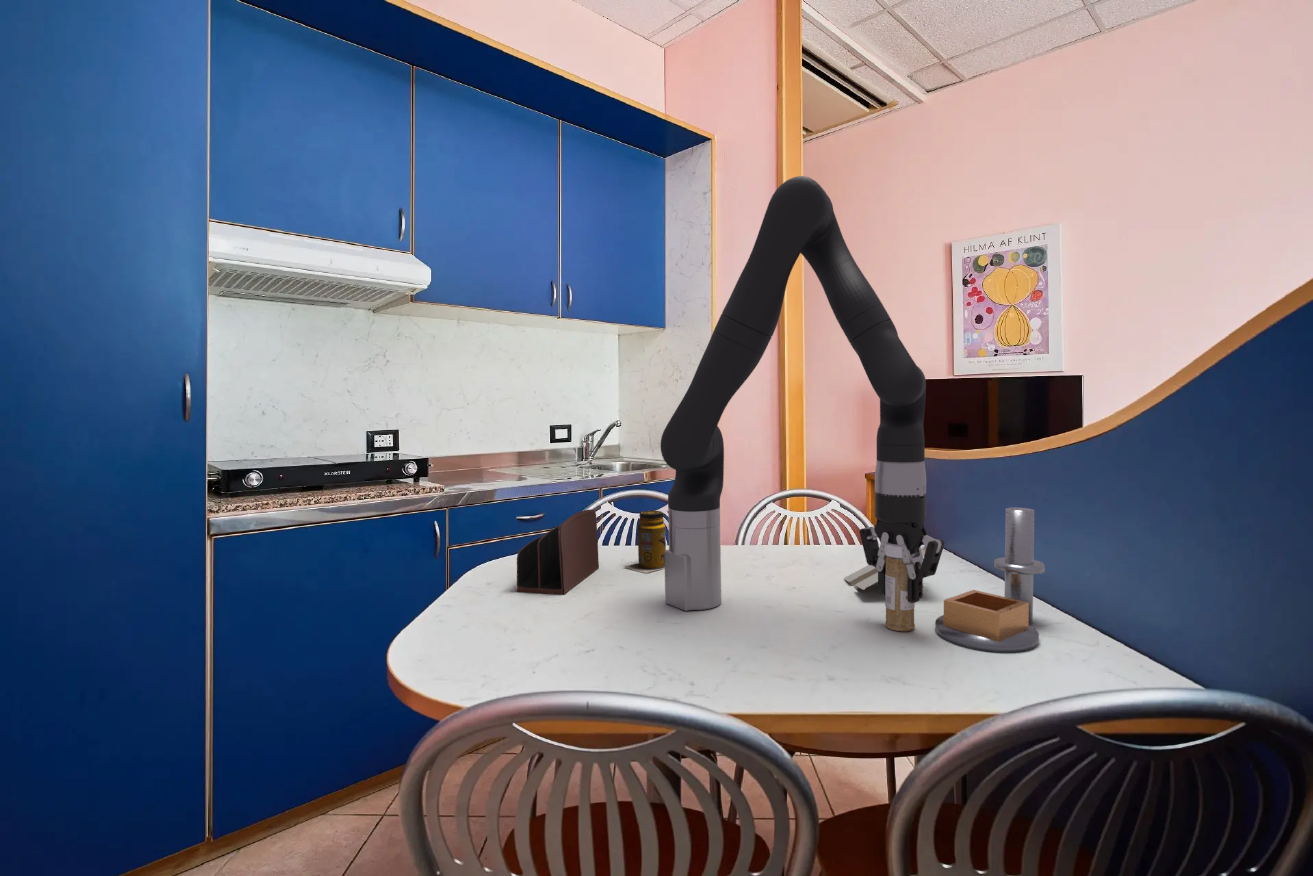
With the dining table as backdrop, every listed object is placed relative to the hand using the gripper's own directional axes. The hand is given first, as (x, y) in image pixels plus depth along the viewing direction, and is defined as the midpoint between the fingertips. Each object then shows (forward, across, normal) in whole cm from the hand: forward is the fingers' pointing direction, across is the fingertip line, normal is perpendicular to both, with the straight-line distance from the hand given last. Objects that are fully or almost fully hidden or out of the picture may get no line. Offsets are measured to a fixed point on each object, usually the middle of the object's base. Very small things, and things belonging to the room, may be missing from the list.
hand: (899, 597), depth 104 cm
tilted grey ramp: (+5, -14, +16) cm, 22 cm away
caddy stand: (+5, +10, +10) cm, 15 cm away
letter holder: (+5, -59, -29) cm, 66 cm away
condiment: (+5, -56, -9) cm, 57 cm away
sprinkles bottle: (+5, 0, 0) cm, 5 cm away
